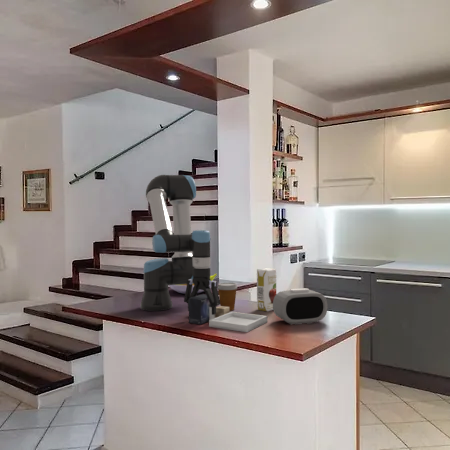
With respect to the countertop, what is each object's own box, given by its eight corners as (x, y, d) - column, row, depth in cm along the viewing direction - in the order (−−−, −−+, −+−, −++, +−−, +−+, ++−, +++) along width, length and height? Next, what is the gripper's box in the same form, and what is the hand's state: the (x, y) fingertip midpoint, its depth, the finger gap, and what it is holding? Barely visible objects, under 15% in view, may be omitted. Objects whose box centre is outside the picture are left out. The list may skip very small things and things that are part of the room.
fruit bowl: (158, 293, 251) (158, 273, 250) (188, 286, 273) (188, 268, 273) (196, 298, 235) (196, 277, 234) (225, 290, 257) (225, 271, 257)
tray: (209, 326, 175) (209, 320, 175) (231, 317, 191) (231, 311, 191) (246, 332, 167) (246, 325, 167) (267, 322, 182) (267, 315, 182)
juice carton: (254, 309, 205) (254, 269, 205) (265, 306, 212) (265, 267, 211) (267, 312, 200) (267, 270, 200) (278, 309, 207) (278, 268, 206)
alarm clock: (282, 326, 175) (281, 292, 175) (272, 320, 184) (272, 289, 184) (328, 322, 181) (328, 289, 181) (317, 317, 190) (317, 286, 190)
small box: (201, 325, 178) (200, 299, 178) (188, 323, 182) (187, 297, 181) (215, 319, 187) (215, 295, 187) (202, 317, 191) (202, 293, 190)
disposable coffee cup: (235, 312, 201) (235, 286, 201) (215, 311, 203) (215, 285, 202) (239, 307, 210) (239, 282, 210) (219, 307, 212) (219, 282, 212)
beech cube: (215, 318, 190) (215, 307, 190) (220, 316, 194) (220, 305, 194) (224, 319, 188) (224, 308, 188) (229, 317, 192) (229, 306, 192)
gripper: (174, 266, 186) (175, 319, 187) (219, 269, 175) (219, 325, 175) (185, 265, 193) (185, 316, 193) (228, 267, 181) (229, 321, 182)
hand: (201, 320), depth 184 cm, fingers open, 9 cm apart
